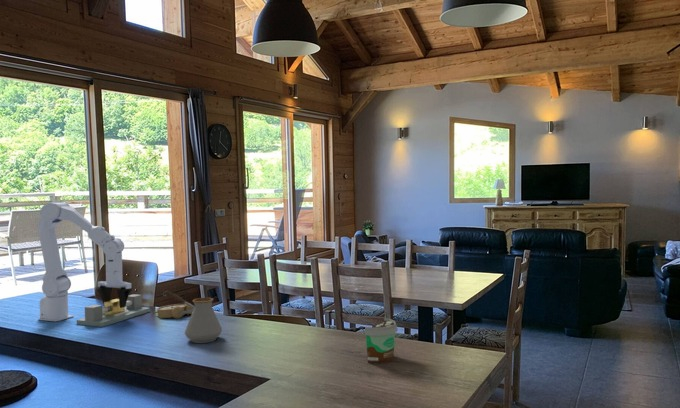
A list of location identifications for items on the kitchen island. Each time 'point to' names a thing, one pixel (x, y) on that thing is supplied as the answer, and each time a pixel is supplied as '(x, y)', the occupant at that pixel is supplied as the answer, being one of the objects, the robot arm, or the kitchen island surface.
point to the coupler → (113, 307)
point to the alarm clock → (174, 311)
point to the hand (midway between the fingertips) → (114, 306)
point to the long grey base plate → (98, 317)
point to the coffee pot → (201, 320)
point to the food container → (381, 341)
